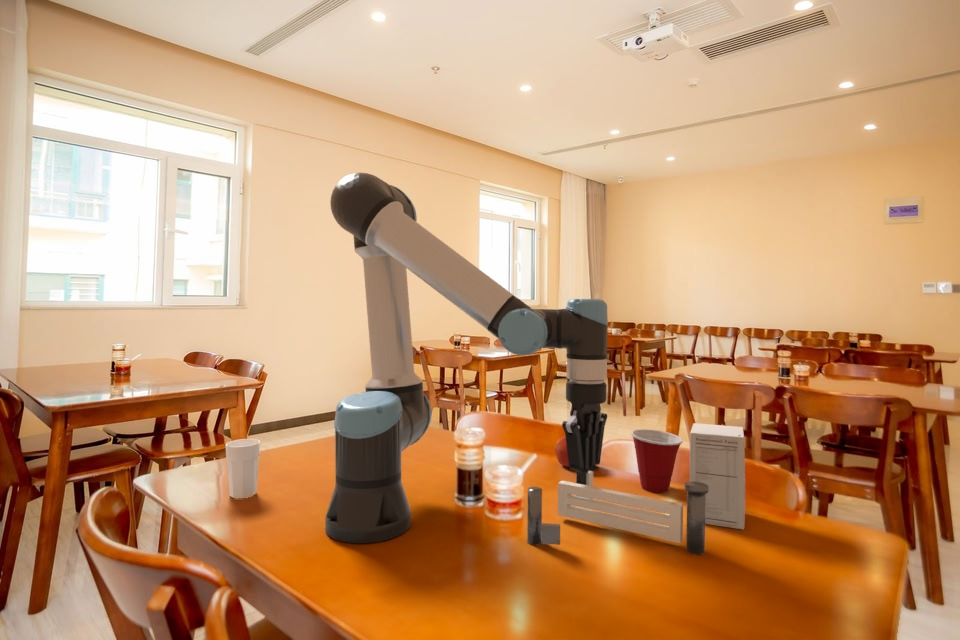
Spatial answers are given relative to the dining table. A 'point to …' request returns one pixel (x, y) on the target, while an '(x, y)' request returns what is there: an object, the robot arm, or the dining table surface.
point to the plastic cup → (655, 458)
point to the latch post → (539, 521)
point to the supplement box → (720, 472)
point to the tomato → (562, 451)
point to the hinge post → (696, 517)
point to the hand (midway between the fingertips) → (584, 504)
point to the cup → (242, 467)
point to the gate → (621, 510)
